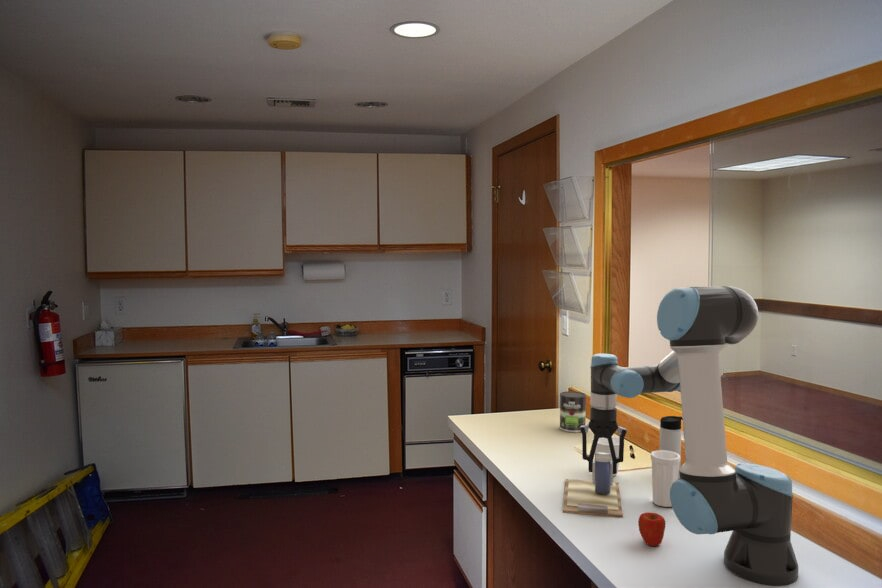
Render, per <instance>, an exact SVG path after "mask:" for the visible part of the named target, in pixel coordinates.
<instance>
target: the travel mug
mask: <svg viewBox="0 0 882 588" xmlns="http://www.w3.org/2000/svg"><path fill="white" fill-rule="evenodd" d="M682 421H683V417H682V416H676V415H668V416H662V417H661V418H660V422H659V423H660V425H659V450H665V451H671V452H675V453H677V454H679V455H680V462H679V468H680V467H681V464H682V463H681V460H682V459H681V457H682V448H681V447H682ZM679 479H680V474H679V471H678V480H679Z"/></svg>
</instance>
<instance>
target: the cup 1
mask: <svg viewBox="0 0 882 588" xmlns="http://www.w3.org/2000/svg"><path fill="white" fill-rule="evenodd" d="M612 440H613V445H614V450H615V454H616V457H619V437H618V436H613V435H612ZM591 441H592V442H593V438H592V439H591ZM598 452H601V453H609V454H611V452H610V447H609V443H608V438H599V439H598V442H597V446H596V450H595V453H598ZM611 461H612V456H611ZM619 465H620V462H619V463H617V473H616V474H613V477H615V476H616V475H618V472H619Z"/></svg>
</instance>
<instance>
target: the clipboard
mask: <svg viewBox="0 0 882 588" xmlns="http://www.w3.org/2000/svg"><path fill="white" fill-rule="evenodd" d="M564 481H565V482H564V492H563V503H562V504H563V505H562V513H567V514H578V515H579V514H580V515H588V516H589V515H591V516H601V517H602V516H603V517H612V518H621V519H622V518H624V512H623V507H622V506H623V505H622V504H623V503H622V497H621V491H620V483H619V482H616V481H615V482H614V481H613V486H610V493H608V494H602V493H597V492H595V484H592V480H588V479H577V478H576V479H574V478H565V480H564Z"/></svg>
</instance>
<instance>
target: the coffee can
mask: <svg viewBox="0 0 882 588" xmlns="http://www.w3.org/2000/svg"><path fill="white" fill-rule="evenodd" d="M559 397H560V399H559V429H560V430H561V431H563V432H566V433H567V432H568V433H581V430H580V426H581V425H583V426H584V425H586V412H587V411H586V409H587V405H586V404H587V394H586V393H583V392H580V391H573V390H572V391H569V390H567V391H561V392H560V393H559Z"/></svg>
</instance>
